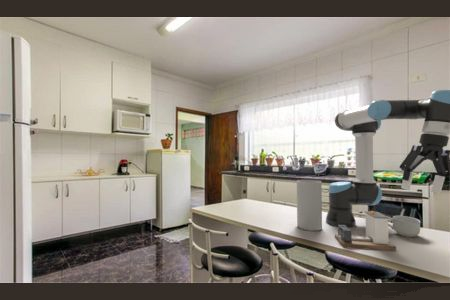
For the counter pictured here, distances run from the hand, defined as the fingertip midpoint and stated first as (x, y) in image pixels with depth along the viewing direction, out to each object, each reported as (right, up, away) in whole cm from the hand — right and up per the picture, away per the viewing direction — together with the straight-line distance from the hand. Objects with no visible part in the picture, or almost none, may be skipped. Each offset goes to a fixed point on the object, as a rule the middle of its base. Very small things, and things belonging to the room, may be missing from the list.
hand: (420, 191), depth 83 cm
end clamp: (-19, -24, +17) cm, 35 cm away
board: (-12, -26, +15) cm, 32 cm away
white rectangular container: (-7, -24, +15) cm, 29 cm away
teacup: (+15, -26, +27) cm, 40 cm away
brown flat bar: (-12, -24, +15) cm, 31 cm away
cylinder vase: (-27, -27, +38) cm, 54 cm away
